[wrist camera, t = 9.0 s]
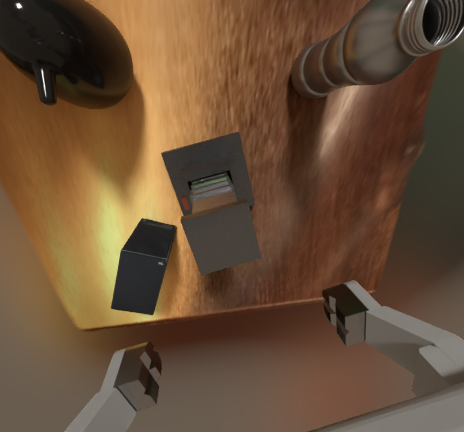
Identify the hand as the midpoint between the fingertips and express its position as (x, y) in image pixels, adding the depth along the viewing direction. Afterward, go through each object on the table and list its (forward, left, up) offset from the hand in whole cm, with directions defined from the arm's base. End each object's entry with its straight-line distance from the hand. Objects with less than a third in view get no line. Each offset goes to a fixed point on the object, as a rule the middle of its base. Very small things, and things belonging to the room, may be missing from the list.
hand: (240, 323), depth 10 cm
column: (0, 0, -23) cm, 23 cm away
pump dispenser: (-18, -10, -29) cm, 36 cm away
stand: (0, 0, -29) cm, 29 cm away
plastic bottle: (-11, +18, -29) cm, 36 cm away
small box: (+9, -14, -29) cm, 33 cm away
